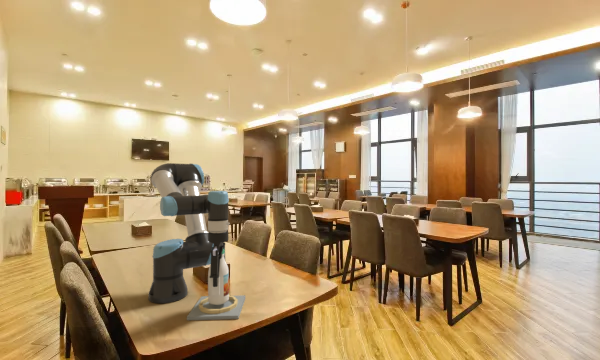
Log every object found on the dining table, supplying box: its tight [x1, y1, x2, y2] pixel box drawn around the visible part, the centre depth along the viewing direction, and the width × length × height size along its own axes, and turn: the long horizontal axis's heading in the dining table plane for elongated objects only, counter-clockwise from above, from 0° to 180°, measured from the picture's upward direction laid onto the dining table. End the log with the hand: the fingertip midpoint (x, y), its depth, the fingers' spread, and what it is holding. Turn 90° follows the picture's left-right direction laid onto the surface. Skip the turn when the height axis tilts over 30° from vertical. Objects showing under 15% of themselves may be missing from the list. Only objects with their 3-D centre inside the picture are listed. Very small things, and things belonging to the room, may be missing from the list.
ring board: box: [186, 294, 246, 321], centre depth 112 cm, size 18×18×2 cm
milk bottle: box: [207, 249, 230, 305], centre depth 112 cm, size 8×8×20 cm
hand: (218, 290), depth 112 cm, fingers closed on milk bottle, 8 cm apart
